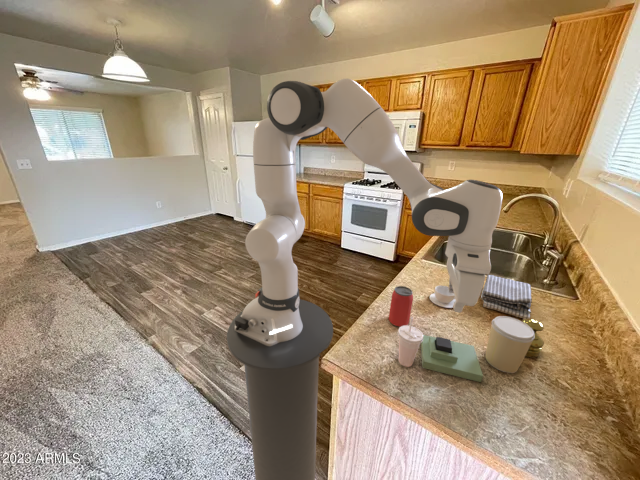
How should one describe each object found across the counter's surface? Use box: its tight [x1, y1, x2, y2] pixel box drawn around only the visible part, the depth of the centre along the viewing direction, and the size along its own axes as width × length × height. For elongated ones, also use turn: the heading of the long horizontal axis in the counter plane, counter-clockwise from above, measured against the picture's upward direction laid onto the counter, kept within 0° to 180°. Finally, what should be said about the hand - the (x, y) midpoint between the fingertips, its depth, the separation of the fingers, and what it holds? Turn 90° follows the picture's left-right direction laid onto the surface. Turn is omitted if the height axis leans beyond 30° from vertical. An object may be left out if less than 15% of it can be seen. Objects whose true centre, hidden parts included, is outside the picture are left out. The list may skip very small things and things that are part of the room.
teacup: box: [429, 285, 456, 309], centre depth 100 cm, size 10×10×5 cm
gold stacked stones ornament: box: [521, 318, 545, 358], centre depth 76 cm, size 7×7×10 cm
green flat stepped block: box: [420, 334, 484, 383], centre depth 73 cm, size 14×11×4 cm
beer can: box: [388, 285, 414, 328], centre depth 86 cm, size 7×7×12 cm
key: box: [435, 336, 452, 353], centre depth 72 cm, size 4×4×2 cm
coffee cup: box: [484, 315, 535, 374], centre depth 71 cm, size 9×9×12 cm
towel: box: [480, 274, 533, 320], centre depth 99 cm, size 15×18×8 cm
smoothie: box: [397, 316, 424, 368], centre depth 70 cm, size 6×6×14 cm
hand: (454, 300), depth 67 cm, fingers open, 8 cm apart
